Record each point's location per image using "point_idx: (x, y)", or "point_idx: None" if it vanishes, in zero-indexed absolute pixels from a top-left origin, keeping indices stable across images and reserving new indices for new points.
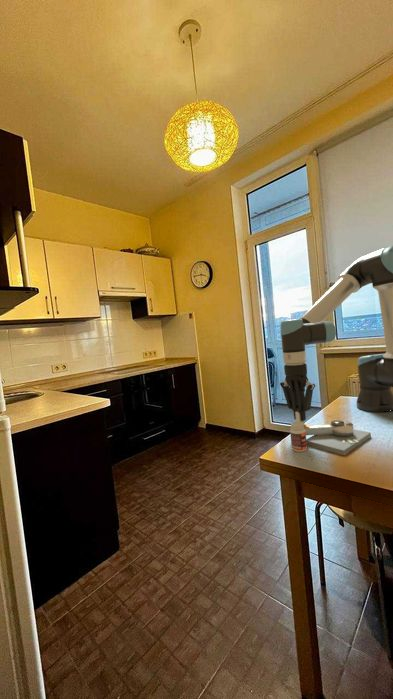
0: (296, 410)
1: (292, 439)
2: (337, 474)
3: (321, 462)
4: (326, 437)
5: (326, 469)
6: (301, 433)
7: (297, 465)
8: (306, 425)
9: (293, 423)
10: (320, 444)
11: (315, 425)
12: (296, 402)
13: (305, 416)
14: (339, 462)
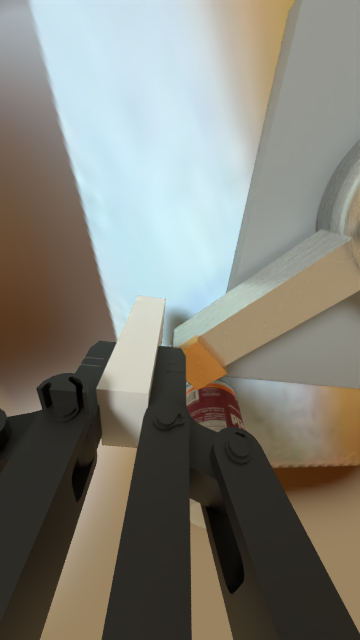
0: (98, 439)
1: None
2: (347, 458)
3: (300, 433)
4: None
5: (319, 452)
6: None
7: None
8: (202, 360)
9: (201, 517)
10: (287, 381)
11: (245, 308)
12: (51, 566)
13: (185, 374)
14: (351, 416)
